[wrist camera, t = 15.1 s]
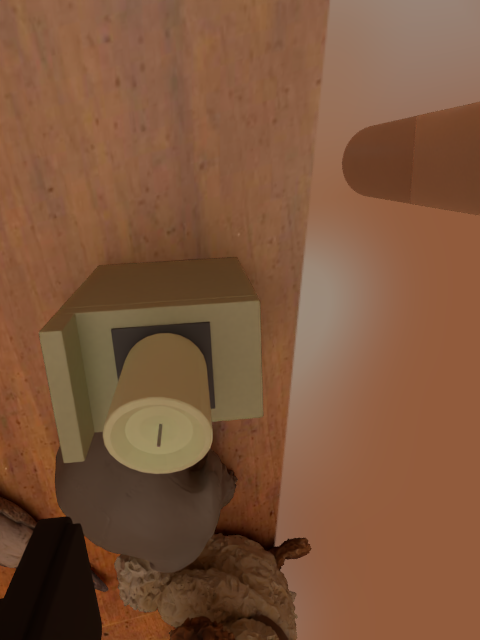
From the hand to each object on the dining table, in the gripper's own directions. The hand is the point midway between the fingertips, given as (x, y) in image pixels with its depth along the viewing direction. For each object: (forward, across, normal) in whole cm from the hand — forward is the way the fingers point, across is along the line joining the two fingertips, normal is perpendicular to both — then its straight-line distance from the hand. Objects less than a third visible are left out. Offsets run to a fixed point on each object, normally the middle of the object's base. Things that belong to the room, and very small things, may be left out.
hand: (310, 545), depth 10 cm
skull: (+33, +8, +20) cm, 39 cm away
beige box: (+33, +5, +4) cm, 33 cm away
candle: (+19, +4, +4) cm, 20 cm away
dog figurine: (+33, +1, +35) cm, 48 cm away
